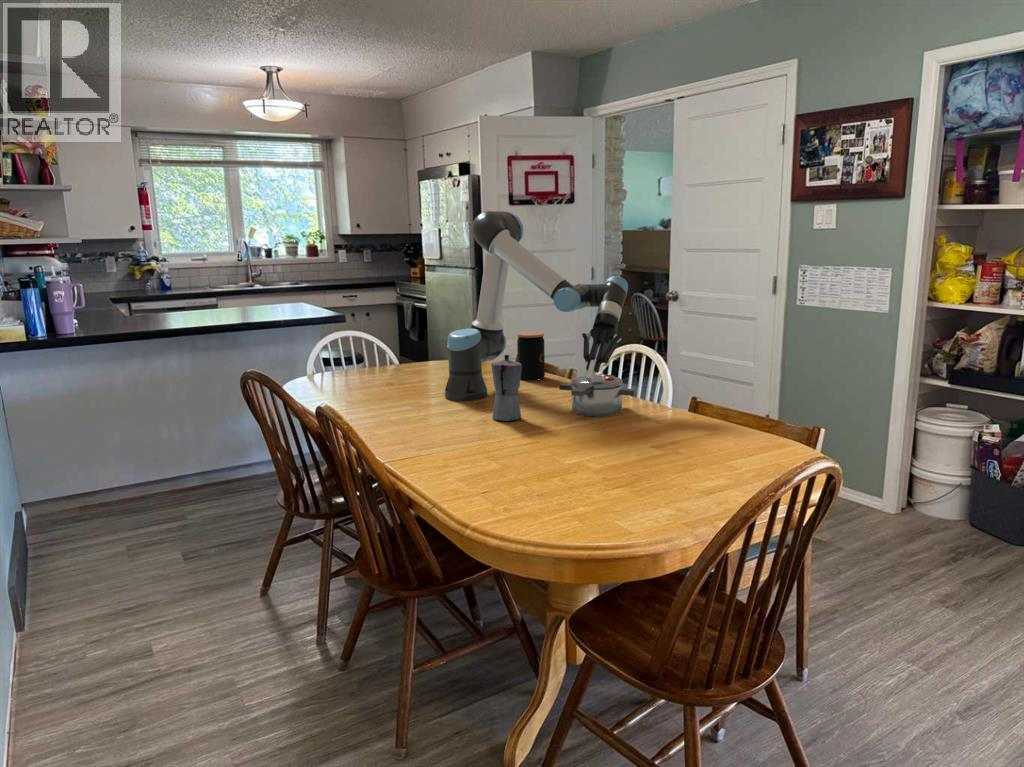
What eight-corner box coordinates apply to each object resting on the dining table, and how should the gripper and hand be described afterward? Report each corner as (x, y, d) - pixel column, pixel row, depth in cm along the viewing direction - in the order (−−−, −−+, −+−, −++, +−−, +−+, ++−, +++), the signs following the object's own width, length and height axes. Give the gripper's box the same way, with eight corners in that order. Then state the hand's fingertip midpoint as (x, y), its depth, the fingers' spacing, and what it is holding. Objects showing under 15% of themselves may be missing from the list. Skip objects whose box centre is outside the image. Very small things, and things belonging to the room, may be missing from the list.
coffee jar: (545, 380, 270) (544, 335, 267) (517, 381, 271) (516, 335, 267) (544, 375, 281) (543, 331, 277) (518, 375, 281) (517, 331, 277)
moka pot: (524, 412, 222) (523, 351, 218) (520, 425, 207) (519, 359, 203) (495, 412, 223) (493, 351, 219) (489, 425, 208) (487, 360, 204)
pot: (551, 412, 222) (550, 386, 220) (572, 400, 237) (572, 375, 236) (626, 420, 210) (626, 393, 208) (644, 407, 226) (644, 381, 224)
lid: (552, 393, 210) (552, 387, 210) (584, 377, 233) (584, 371, 232) (602, 398, 203) (602, 391, 202) (630, 380, 226) (630, 374, 225)
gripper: (629, 326, 223) (612, 388, 212) (591, 325, 229) (572, 385, 218) (624, 312, 217) (606, 374, 206) (585, 310, 223) (566, 371, 212)
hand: (589, 379), depth 212 cm, fingers closed
